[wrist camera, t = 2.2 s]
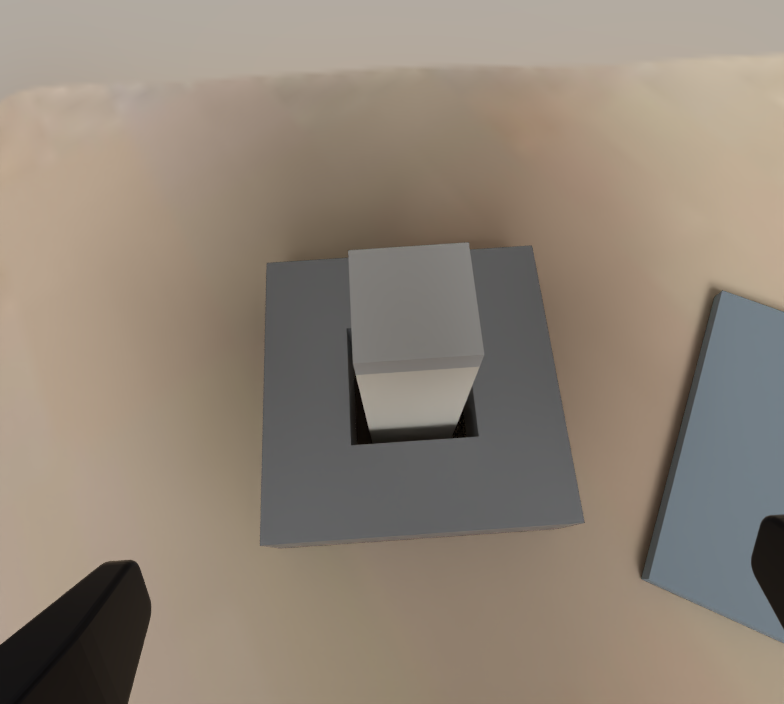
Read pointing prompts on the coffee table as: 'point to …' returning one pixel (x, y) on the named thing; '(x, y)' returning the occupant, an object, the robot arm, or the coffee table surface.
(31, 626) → the robot arm
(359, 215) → the coffee table surface
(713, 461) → the mat
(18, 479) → the coffee table surface
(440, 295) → the plug
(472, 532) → the socket block
